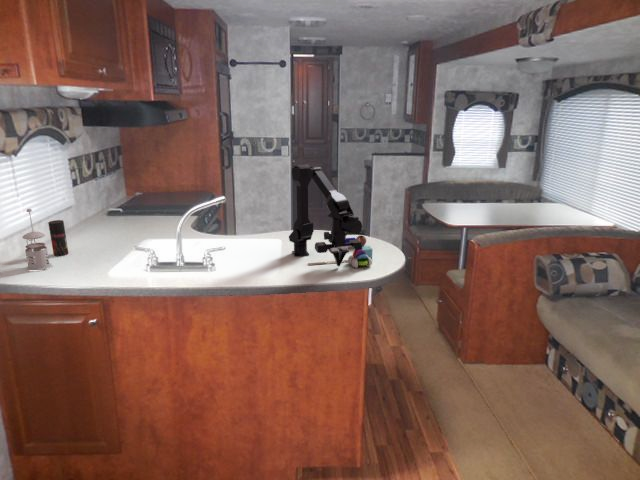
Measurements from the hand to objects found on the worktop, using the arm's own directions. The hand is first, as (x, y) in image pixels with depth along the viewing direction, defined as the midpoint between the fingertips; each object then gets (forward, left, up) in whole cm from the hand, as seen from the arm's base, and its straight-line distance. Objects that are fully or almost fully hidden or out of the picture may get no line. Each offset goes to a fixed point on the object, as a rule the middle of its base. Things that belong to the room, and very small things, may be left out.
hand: (338, 265), depth 204 cm
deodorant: (-48, -115, -1) cm, 125 cm away
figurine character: (-29, +14, -1) cm, 32 cm away
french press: (-32, -120, -1) cm, 125 cm away
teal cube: (-10, +15, -1) cm, 18 cm away
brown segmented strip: (-7, +1, -1) cm, 7 cm away
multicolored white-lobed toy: (-1, +10, -1) cm, 10 cm away
